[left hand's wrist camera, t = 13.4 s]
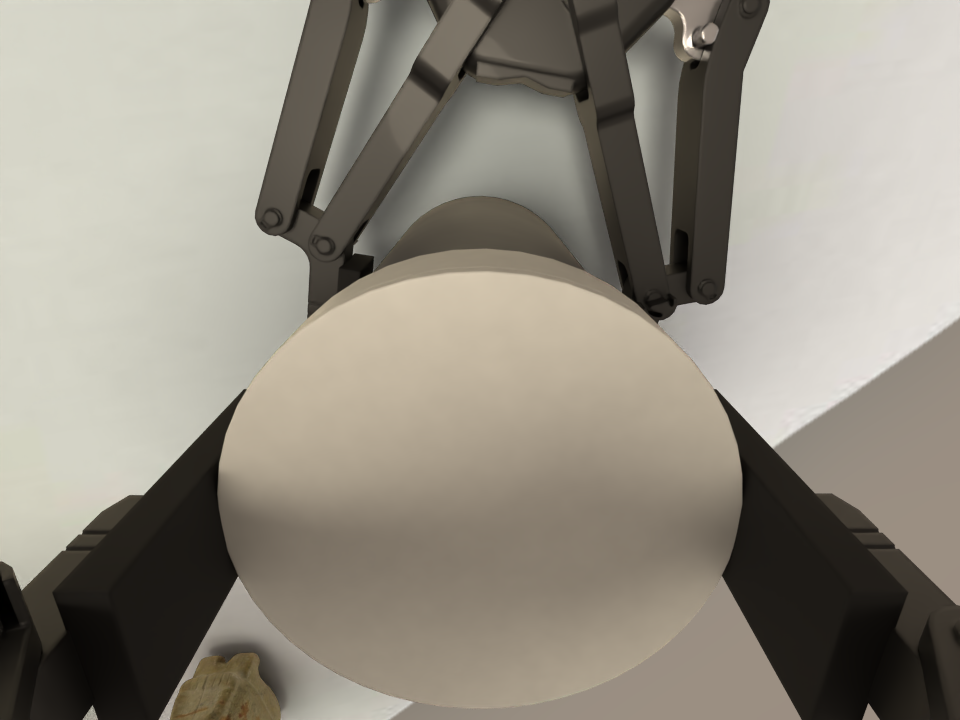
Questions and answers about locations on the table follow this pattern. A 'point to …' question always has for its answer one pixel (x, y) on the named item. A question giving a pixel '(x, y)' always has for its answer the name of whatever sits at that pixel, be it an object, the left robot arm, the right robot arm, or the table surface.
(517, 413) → the lid
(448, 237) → the jar
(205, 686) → the sculpture
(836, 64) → the table surface
